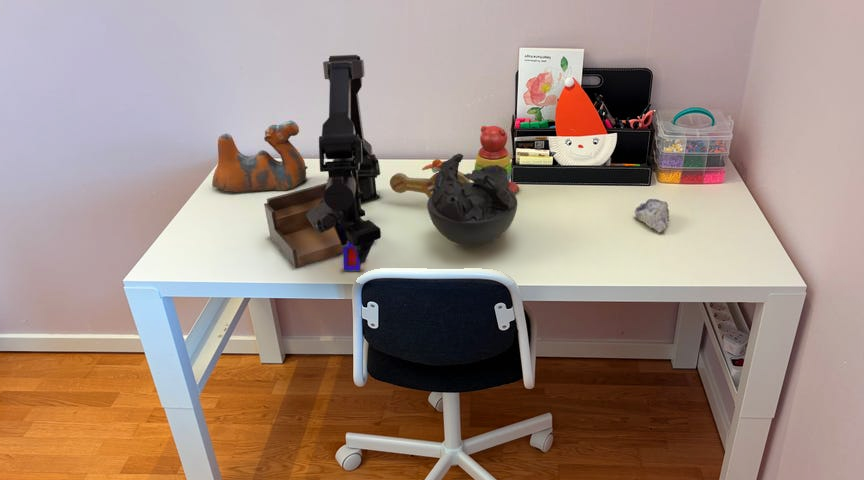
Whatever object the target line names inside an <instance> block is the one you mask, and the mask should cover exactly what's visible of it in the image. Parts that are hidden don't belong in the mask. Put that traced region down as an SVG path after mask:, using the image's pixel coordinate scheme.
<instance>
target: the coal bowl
mask: <svg viewBox="0 0 864 480" xmlns="http://www.w3.org/2000/svg"><path fill="white" fill-rule="evenodd" d="M463 158H464V155H463V154H462V153H457V154H454V155H453V156H452V157H450V158H448V159H447V160H444V161H445V162H443V161H442V162H443V163H442V164H441V166H440V168H441V171H440V172H439V171H438V172H439V173H438V172H437V173H438V174H437V176H436V178H435V183H434V190H433V193H432V195H431V196H430V198H428V199H427V202H426V203H427V211H428V215H429V218H430V220H431V222H432V224H433V226H434V228H435V229H436V230H437V231H438V232H439V234H441V236H442V237H444V238H446V239H447V240H448V241H450V242H452V243H455V244H457V245H460V246H463V247H480V246H485V245H488V244H490V243H493V242H494V241H497V240H498V239H500V238H501V237H502V236H503V235H504V234H505V233H506V232H507V231H508V229H509V228H510V227H511V225H512V224H513V222H514V220H515V217H516V214H517V211H518V199H517V198H518V197H517V196H516V193H515V194H514V192H513V191H511V190H510V189H509V188H508V181H507V169H505V168H504V167H501V166H498V165H495V166H494V165H491V166H486V167H482V169H481V170H475V169H472V170H471V171H472V172H471V173H470V172H467V173H463V174H464V176H465V177H466V178H468V179H469V180H470V182H469V183H460V182H459V181H458V171H459V166H460V163H461V162H462V160H464V159H463Z"/></svg>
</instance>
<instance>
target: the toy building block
mask: <svg viewBox="0 0 864 480" xmlns="http://www.w3.org/2000/svg"><path fill="white" fill-rule="evenodd" d="M342 261H343V271H344V272H346V271H349V272H350V271H351V272H352V271H353V272H356V271H357V272H360V271H362V264H360V263H359V260H358V257H357V253H356V250H355V246H353V245H352V244H351V243H350V242H349V241H348V245H347V246H343V253H342Z"/></svg>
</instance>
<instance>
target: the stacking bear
mask: <svg viewBox="0 0 864 480" xmlns="http://www.w3.org/2000/svg"><path fill="white" fill-rule="evenodd" d="M480 132H481V133H480V135H479V141H480V145H481V148H480V149H479V150H478V153H477V154H476V159H475V162H474V170H481V169H482V167H486V166H491V165H494V166H495V165H498V166H501V167H504V168H505V169H507V181H508V188H509V189H510V190H511V191H513V192H514V194H515V195H516V194H517V193H518V192H519V191H520V187H519V184H517V183H515V182H512V181H511V177H512V170H513V168H512V162H511V156H510V153H509V151H508V149H507V147H506V145H507V142H508V134H507V131H506V130H505V129H504V128H502V127H500V126H497V125H490V126H486V125H482V126H481V127H480Z"/></svg>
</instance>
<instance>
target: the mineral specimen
mask: <svg viewBox="0 0 864 480" xmlns="http://www.w3.org/2000/svg"><path fill="white" fill-rule="evenodd" d="M634 214H635V216H636V218H637V219H638V220H639V221H640V222H643V223H644V224H646V226H648V227H649V228H650V229H653V230H654V231H655V232H657V233H662V232H663V231H664V230H665V229H666V226H667V223H668V222H670V210H669V204H668V202H667V201H665V200H660V199H657V198H654V199H653V198H649V199H647V200H646V201H645V202H643V203H640V204H639V205H638V206H637V207H636V208H635V210H634Z"/></svg>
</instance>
